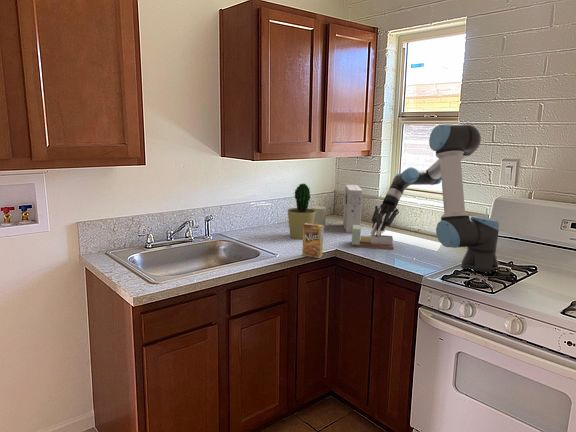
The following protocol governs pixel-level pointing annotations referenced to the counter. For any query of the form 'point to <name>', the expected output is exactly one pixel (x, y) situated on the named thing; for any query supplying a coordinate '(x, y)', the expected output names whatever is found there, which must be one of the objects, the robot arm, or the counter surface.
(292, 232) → the potted cactus
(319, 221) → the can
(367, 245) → the base board
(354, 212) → the white upright box
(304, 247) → the candy box
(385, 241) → the sleeve
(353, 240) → the socket block
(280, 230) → the counter surface
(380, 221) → the upright peg on base
